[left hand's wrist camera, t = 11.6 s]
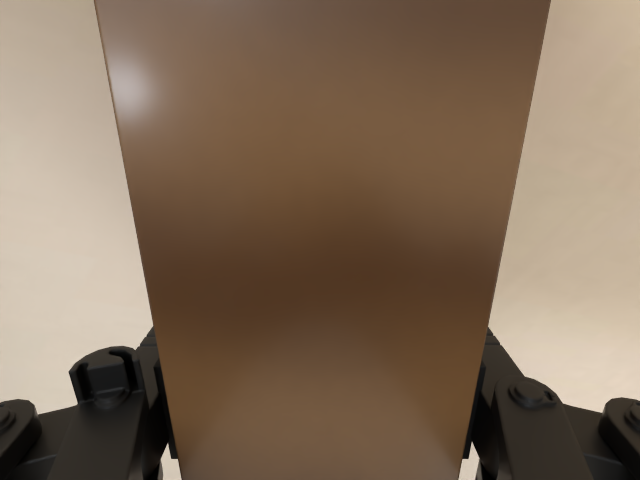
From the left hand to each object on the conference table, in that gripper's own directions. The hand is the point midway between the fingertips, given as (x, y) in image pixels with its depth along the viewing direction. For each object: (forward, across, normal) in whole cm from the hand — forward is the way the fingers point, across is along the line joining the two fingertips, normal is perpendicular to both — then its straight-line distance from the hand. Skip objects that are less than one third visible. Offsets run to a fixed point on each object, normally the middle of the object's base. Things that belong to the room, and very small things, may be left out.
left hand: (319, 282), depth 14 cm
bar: (+1, 0, -26) cm, 26 cm away
